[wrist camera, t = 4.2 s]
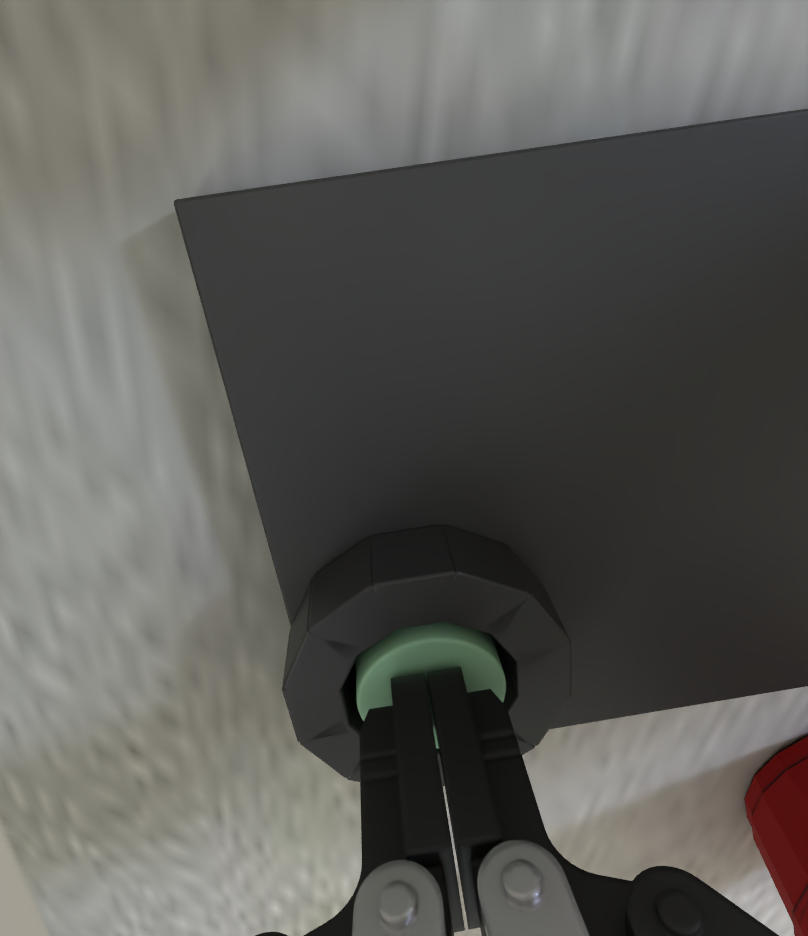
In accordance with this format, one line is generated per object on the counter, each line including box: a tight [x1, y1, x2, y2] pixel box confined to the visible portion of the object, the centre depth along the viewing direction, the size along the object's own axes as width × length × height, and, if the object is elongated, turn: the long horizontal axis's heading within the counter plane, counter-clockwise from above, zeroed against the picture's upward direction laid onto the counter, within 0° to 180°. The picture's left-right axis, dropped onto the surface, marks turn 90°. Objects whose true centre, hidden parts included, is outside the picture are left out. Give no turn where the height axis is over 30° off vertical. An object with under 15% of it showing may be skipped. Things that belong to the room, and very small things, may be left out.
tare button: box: [356, 621, 506, 749], centre depth 13 cm, size 3×3×2 cm
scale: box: [174, 109, 808, 786], centre depth 12 cm, size 14×16×3 cm
